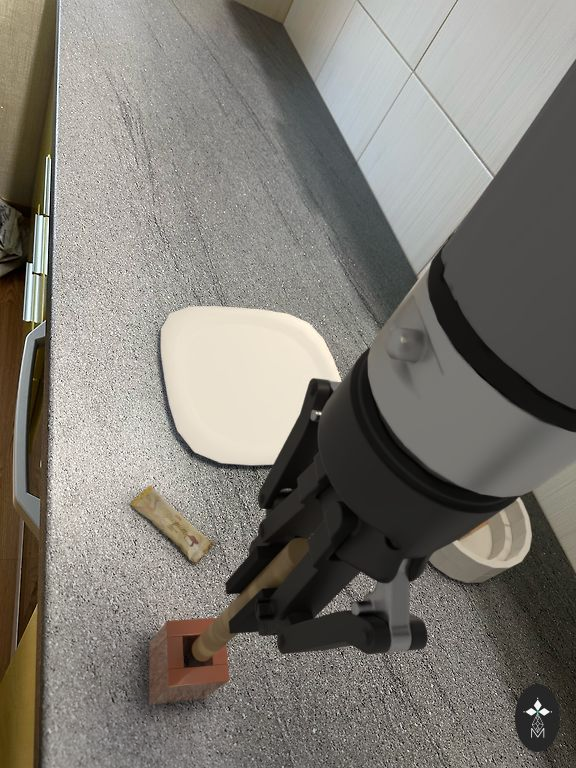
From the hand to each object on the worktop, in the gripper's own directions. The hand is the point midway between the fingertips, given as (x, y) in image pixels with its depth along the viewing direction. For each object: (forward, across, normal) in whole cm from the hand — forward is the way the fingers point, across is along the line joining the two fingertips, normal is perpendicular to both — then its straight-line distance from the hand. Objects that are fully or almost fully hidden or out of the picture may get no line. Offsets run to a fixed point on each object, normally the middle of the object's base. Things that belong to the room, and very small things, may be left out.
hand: (247, 606), depth 38 cm
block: (+20, -14, +37) cm, 44 cm away
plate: (+21, -34, +12) cm, 42 cm away
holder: (+21, 0, 0) cm, 21 cm away
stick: (+11, 0, 0) cm, 11 cm away
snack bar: (+21, -14, 0) cm, 25 cm away
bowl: (+21, -14, +37) cm, 45 cm away
